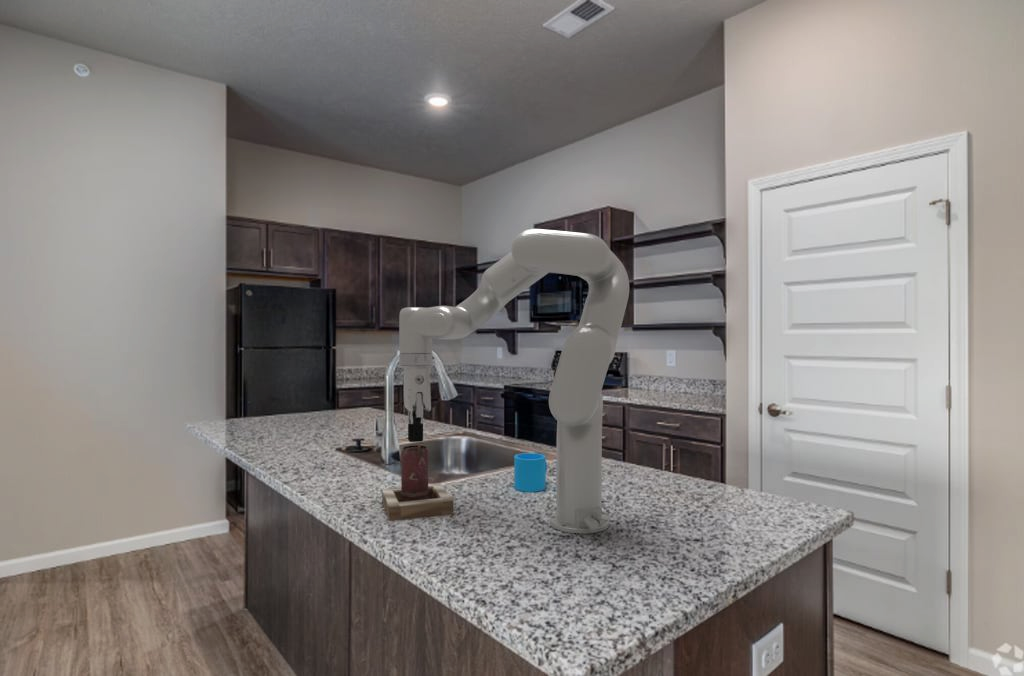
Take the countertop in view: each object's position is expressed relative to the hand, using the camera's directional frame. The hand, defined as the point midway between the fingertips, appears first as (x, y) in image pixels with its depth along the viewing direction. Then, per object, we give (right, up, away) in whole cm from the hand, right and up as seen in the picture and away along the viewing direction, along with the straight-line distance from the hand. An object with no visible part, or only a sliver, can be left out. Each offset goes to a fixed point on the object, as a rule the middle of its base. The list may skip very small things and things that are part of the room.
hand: (415, 440), depth 126 cm
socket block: (0, -16, 0) cm, 16 cm away
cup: (0, -16, +1) cm, 16 cm away
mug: (+28, -16, +19) cm, 37 cm away
